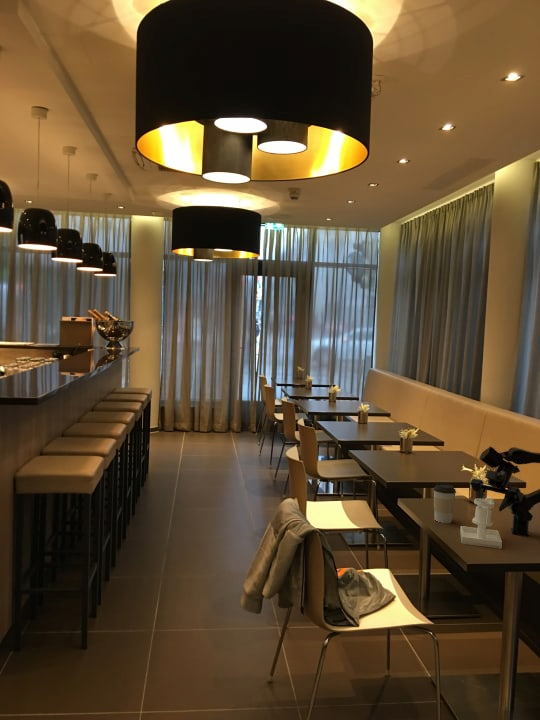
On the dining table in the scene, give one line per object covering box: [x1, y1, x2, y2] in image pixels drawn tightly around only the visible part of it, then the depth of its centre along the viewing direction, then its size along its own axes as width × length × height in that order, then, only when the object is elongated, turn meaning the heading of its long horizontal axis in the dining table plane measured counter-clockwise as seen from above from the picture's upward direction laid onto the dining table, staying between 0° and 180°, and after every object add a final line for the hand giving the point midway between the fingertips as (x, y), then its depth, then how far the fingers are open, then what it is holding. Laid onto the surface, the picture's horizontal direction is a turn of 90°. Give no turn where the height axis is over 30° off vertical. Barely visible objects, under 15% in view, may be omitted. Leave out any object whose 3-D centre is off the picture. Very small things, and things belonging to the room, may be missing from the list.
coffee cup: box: [433, 482, 457, 524], centre depth 239 cm, size 9×9×15 cm
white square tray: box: [459, 525, 503, 550], centre depth 217 cm, size 14×14×2 cm
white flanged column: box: [472, 497, 495, 539], centre depth 217 cm, size 7×7×15 cm
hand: (487, 507), depth 219 cm, fingers open, 9 cm apart
